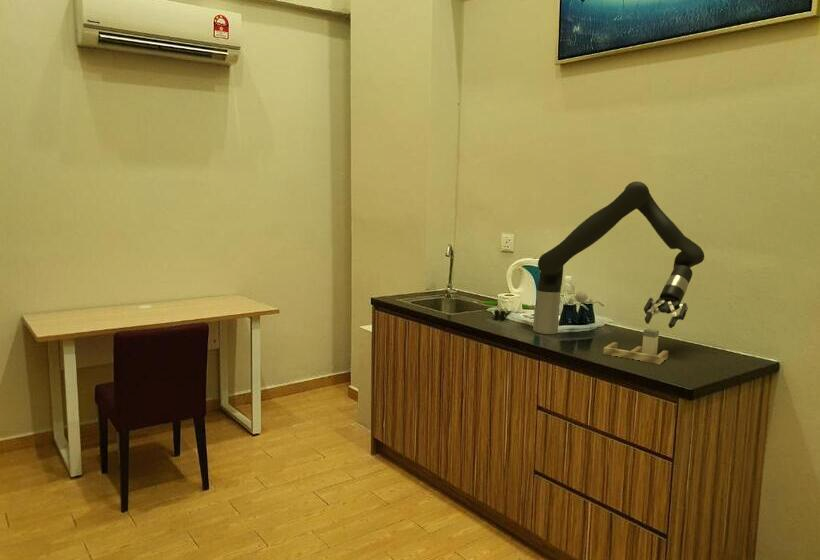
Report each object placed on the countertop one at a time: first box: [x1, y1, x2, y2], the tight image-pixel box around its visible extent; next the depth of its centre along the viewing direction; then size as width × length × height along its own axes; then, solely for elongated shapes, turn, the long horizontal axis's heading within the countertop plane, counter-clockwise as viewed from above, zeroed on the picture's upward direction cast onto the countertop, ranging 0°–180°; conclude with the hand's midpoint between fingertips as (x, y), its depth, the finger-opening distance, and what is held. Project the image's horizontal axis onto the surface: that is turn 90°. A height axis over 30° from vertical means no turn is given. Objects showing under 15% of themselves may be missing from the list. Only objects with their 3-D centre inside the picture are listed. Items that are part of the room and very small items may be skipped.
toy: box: [567, 290, 594, 305], centre depth 281 cm, size 11×7×15 cm, turn 84°
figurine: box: [476, 300, 537, 321], centre depth 298 cm, size 28×6×30 cm
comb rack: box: [602, 341, 669, 365], centre depth 230 cm, size 20×12×2 cm, turn 56°
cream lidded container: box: [641, 328, 660, 356], centre depth 228 cm, size 4×4×10 cm
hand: (658, 324), depth 230 cm, fingers open, 8 cm apart
